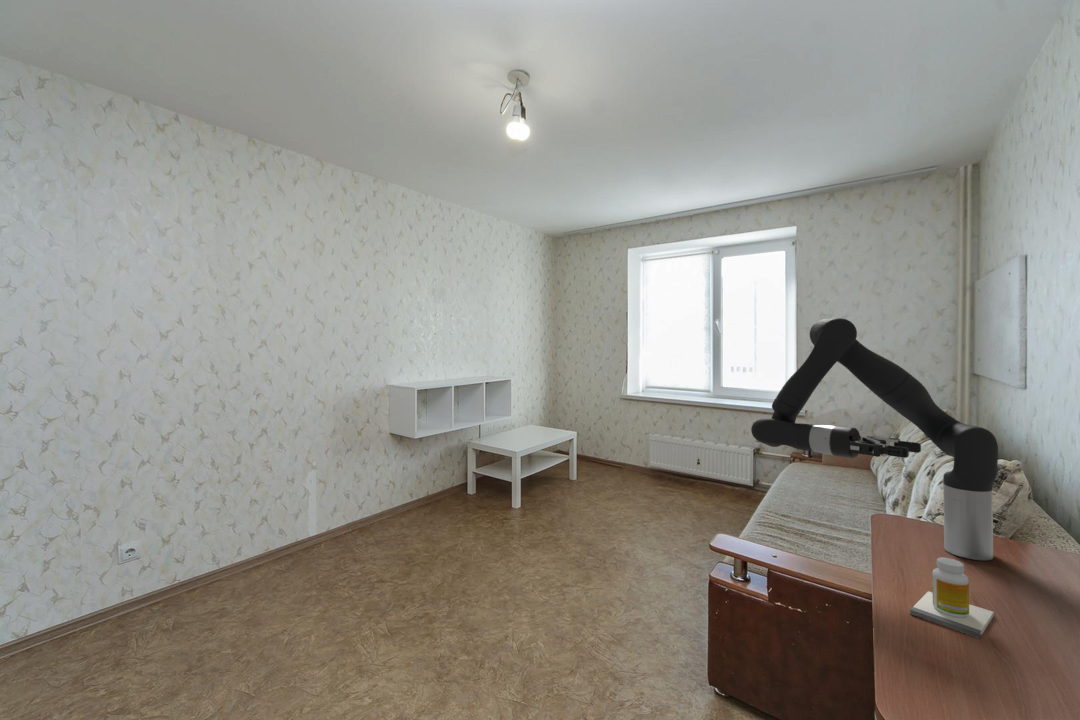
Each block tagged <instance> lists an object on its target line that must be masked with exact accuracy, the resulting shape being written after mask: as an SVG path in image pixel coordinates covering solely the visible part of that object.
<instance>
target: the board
mask: <svg viewBox="0 0 1080 720" xmlns="http://www.w3.org/2000/svg"><path fill="white" fill-rule="evenodd" d="M994 614H995V613H994V611H991V610H989V609H985V608H982V607H980V606H976V605H973V604H970V603H969V616H967V617H954V616H950V615H947V614H944V613H942V612H940V611H938V610H937V609H935V608H934V606H933V591H932V592H931V591H929V590H928V591H926V593H925V594H924V595H923V596H922V597H921V598H920V599H919V600H918V601H917V602H916V603H915V604H914V606H912V607H911V608H910V609H909V615H911V616H915V617H917V618H921V619H922V620H926V621H928V622H931V623H934V624H937V625H940V626H943V627H945V628H948V629H951V630H953V631H956V630H957V631H956V632H959V631H960V632H959V633H962V634H964V633H966V634H965V635H967V634H968V635H967V636H970V635H971V636H970V637H974V638H976V639H978V638H979V639H981V637H982V635H983V633H984V632H985V630H986V629H987V628H988V626H989V624H990V623H991V621H992V619H993V618H994V617H995V616H994Z"/></svg>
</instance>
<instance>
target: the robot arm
mask: <svg viewBox="0 0 1080 720" xmlns="http://www.w3.org/2000/svg"><path fill="white" fill-rule="evenodd" d="M857 337H858V331H857V328H856V326H855V324H854V323H853V322H852V321H850V320H849V319H846V318H842V317H830V318H824V319H821V320H818V321H816V322H815V323H813V325H812V326H811V327H810V330H809V340H810V342H811V343H812V344H813V349H812V350H811V352H810V354H809V355H808V357H807V358H806V359H805V361H804V362H803V363H802V365H800V367H799V368H798V369H797V370H796V371H795V372H794V373H793V374H791V376H790V377H789V378H788V380H786V382H785V383H784V385H783V386H782V388H781V389H780V390H779V392H778V394H777V395H776V396H775V399H774V400H773V401H772V404H771V409H772V411H773V414H772V416H771V418H769V417H766V418H765V417H762V418H759V419H757V420H756V421H754V422H753V423H752V425H751V430H750V432H751V435H752V437H753V438H754V439H755V440H756V441H758V442H759V443H761V444H764V445H765V446H769V447H772V448H777V447H781V446H786V447H787V446H788V447H790V448H794V449H796V450H800V451H809V452H814V453H817V454H818V453H819V454H822V455H826V456H827V455H829V456H835V457H841V458H847V459H848V458H849V459H855V458H857V456H858V455H865V456H871V457H876V458H878V457H881V456H882V457H887V456H890V457H897V458H898V457H899V458H904V459H906V458H908V457H909V454H910V453H916V454H918V453H920V452H922V445H921V443H920V442H914V441H907V440H906V441H904V440H901V438H899V437H898V438H897V437H896V438H895V437H886V436H875V435H866V436H861V435H860V432H859V430H858V429H857V428H856V427H851V426H850V427H849V426H840V425H829V424H813V423H812V424H811V423H797V422H796V420H797V417H798V415H799V414H801V411H802V410H803V408H804V407H805V406H806V404H807V402H808V401H809V399H810V397H811V396H812V394H813V393H814V391H815V390H816V389H817V387H818V386H819V384H820V383H821V382H822V381H823V379H824V378H825V376H826V375H827V374H828V373H829V372H830V370H831V369H832V368H833V367H834V366H835V364H836V363H837V362H838V363H839V364H840V365H842V366H843V367H844V368H846V369H847V370H848V371H849V372H850V373H851V374H852V375H853V376H854V377H855V378H856V379H858V381H859V382H860V383H861V384H863V385H864V386H865V387H867V389H869V390H870V391H871V392H872V393H873V394H874V395H876V396H877V397H878V398H879V399H880V400H882V401H883V402H884V403H886V405H887V406H889V407H890V408H892V409H893V410H894V411H896V412H897V413H898V414H900V415H901V416H902V417H904V419H906V420H908V421H909V422H911V423H912V424H913V425H915V427H917V428H918V429H919V430H920V431H922V433H923V434H924V435H925V436H926V437H927V438H928V439H929V440H930V441H931V442H932V443H933V444H934V445H935V446H936V447H937V448H938V450H939V449H940V451H942V452H943V453H944V454H946V455H948V456H949V457H951V458H952V457H953V469H952V470H951V471H946V472H944V473H943V478H942V480H943V481H942V482H943V483H942V484H943V487H942V488H943V541H944V542H943V543H944V545H943V546H944V550H945V551H946V552H947V553H949V554H952V555H954V556H956V557H957V556H958V557H960V558H965V559H969V560H975V561H985V562H986V561H992V560H993V559H994V524H993V523H994V522H993V521H994V517H993V516H994V514H993V513H994V510H993V505H994V504H993V503H994V502H993V484H994V482H995V481H996V479H997V477H998V476H997V475H998V464H999V463H998V462H999V461H998V459H999V446H998V440H997V439H996V436H995V435H994V434H993V433H992V432H991V431H990V430H988V429H986V428H984V427H981V426H977V425H972V424H966V423H963V422H961V421H959V420H957V419H955V418H954V417H953V416H951V415H950V414H948V413H947V412H945V411H944V410H942V408H940V407H939V406H938V405H937V403H935V402H934V400H933V398H932V396H931V395H930V393H929V391H928V389H927V388H926V386H924V385H923V384H922V383H921V382H920V380H918V379H917V378H916V377H915V376H913V375H912V374H910V373H909V372H908V371H907V370H906V369H905V368H903V367H901V366H900V365H898V364H896V363H895V362H893V361H891V360H890V359H887V357H884V356H882V355H880V354H878V353H876V352H874V351H872V350H871V349H869V348H868V347H866V346H865V345H863V344H862V343H861V342H860V341H859V340H857ZM891 443H893V445H891Z"/></svg>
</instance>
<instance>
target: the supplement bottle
mask: <svg viewBox="0 0 1080 720" xmlns="http://www.w3.org/2000/svg"><path fill="white" fill-rule="evenodd" d="M936 566H937V567H936V568H934V569H933V570H932V575H931V576H932V577H931V578H932V579H931V581H932V582H931V583H932V585H931V586H932V589H931V591H932V593H933V606H934V608H935V609H937V610H938V611H940V612H942V613H944V614H947V615H950V616H954V617H967V616H969V604H970V583H969V581H970V580H969V577H968V576H967V575H966V574H964V572H965V566H964V563H963V562H962V561H959V560H956V559H953V558H949V557H938V558H936Z"/></svg>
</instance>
